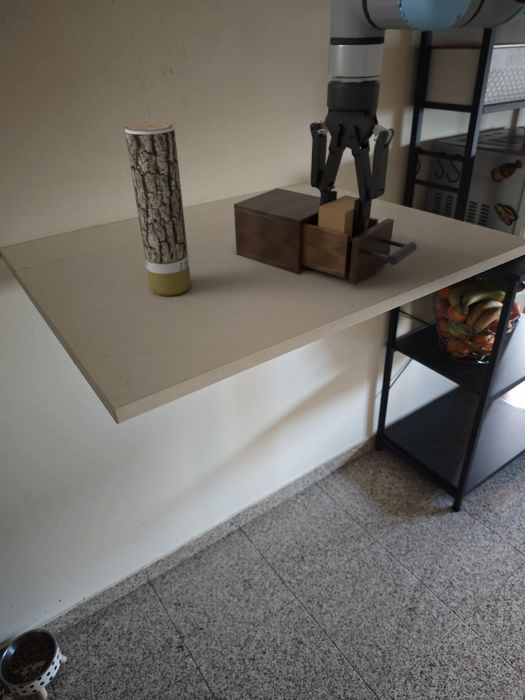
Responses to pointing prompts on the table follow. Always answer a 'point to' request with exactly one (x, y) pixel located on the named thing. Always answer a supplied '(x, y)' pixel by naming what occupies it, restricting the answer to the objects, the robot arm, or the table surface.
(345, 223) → the small cardboard box
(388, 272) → the table surface
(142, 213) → the paper tube
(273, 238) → the cabinet
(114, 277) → the table surface
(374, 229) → the drawer
